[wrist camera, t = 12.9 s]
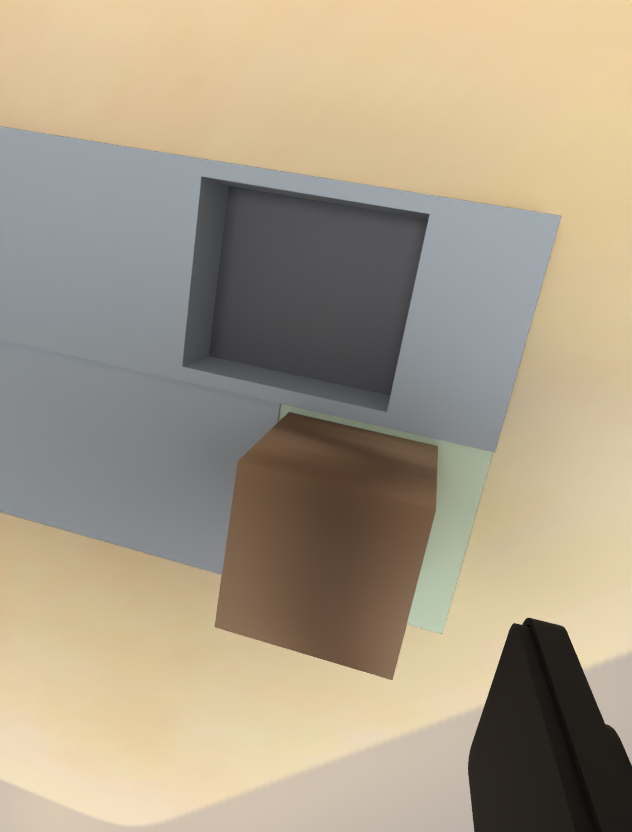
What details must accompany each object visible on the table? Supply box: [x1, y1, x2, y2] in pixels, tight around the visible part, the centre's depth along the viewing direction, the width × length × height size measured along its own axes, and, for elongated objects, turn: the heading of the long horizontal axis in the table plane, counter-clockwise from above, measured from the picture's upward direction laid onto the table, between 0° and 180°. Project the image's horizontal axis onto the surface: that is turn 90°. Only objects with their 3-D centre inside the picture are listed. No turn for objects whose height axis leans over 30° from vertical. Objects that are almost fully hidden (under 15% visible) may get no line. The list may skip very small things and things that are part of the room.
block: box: [215, 412, 438, 680], centre depth 17 cm, size 5×5×5 cm
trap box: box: [0, 127, 561, 634], centre depth 21 cm, size 27×14×2 cm, turn 80°
